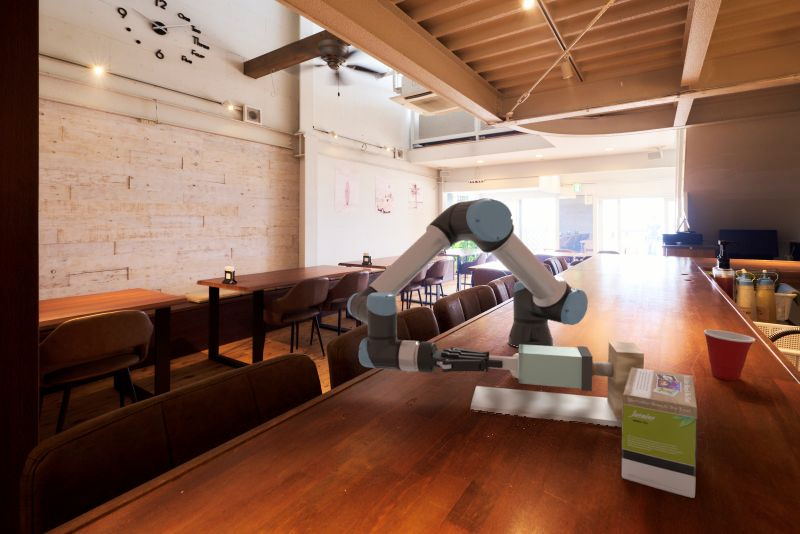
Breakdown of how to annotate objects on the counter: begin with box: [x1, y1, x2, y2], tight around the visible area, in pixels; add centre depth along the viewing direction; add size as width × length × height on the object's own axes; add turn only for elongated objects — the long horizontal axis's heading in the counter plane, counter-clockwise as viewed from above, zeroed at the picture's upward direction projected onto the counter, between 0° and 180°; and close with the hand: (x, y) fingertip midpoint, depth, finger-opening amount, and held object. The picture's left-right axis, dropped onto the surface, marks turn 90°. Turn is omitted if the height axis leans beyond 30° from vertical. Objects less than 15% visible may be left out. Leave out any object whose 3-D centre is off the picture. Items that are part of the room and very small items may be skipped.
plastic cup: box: [703, 329, 756, 381], centre depth 107 cm, size 11×11×12 cm
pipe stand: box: [470, 341, 645, 428], centre depth 90 cm, size 36×12×15 cm, turn 73°
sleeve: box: [518, 344, 582, 390], centre depth 90 cm, size 13×7×7 cm, turn 73°
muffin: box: [509, 352, 519, 378], centre depth 110 cm, size 6×6×7 cm
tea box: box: [621, 367, 698, 499], centre depth 68 cm, size 15×10×15 cm, turn 145°
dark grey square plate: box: [576, 345, 593, 392], centre depth 88 cm, size 2×8×8 cm, turn 163°
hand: (517, 363), depth 92 cm, fingers closed
